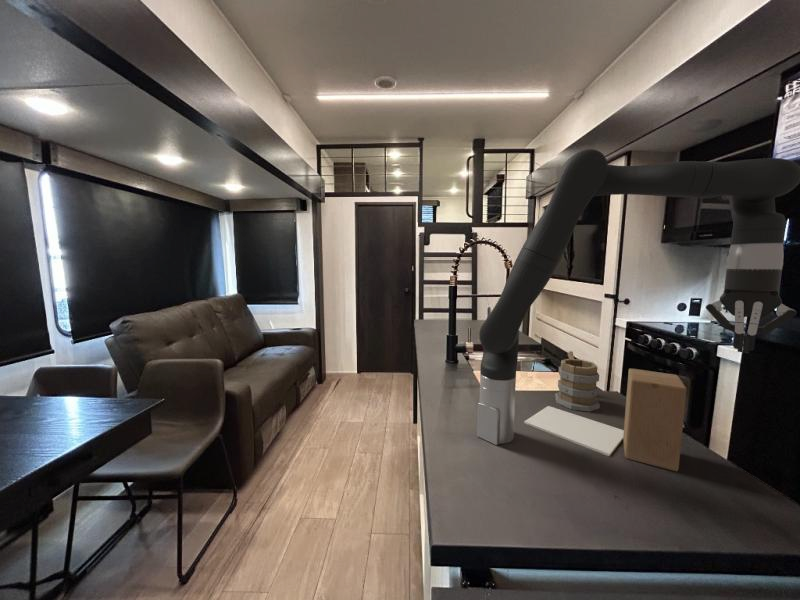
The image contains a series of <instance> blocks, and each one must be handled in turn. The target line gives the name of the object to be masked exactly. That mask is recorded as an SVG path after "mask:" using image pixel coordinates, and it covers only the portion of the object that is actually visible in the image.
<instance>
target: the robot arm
mask: <svg viewBox="0 0 800 600" xmlns="http://www.w3.org/2000/svg"><path fill="white" fill-rule="evenodd" d="M608 163H609V162H608V160H607V158H606V156H605V155H604V153H602V152H601V151H600V150H597V149H592V148H590V149H589V148H587V149H583V150H580V151H577V152H575V153H574V154H573V155H572V156H570V157H569V158H568V159H567V160H566V161H565V162H564V164H563V165H562V168H561V171H560V174H559V178H558V180H557V183H556V185H555V187H554V190H553V192H552V195H551V197H550V200H549V202H548V204H547V206H546V208H545V209H544V211H543V213H542V214H541V216H540V218H539V219H538V221H537V222H536V223H535V225H534V227H533V228H532V230H531V231H530V233H529V234H528V237H527V238H526V239H525V242H524V243H523V245H522V247H521V249H520V251H519V253H518V255H517V258H516V259H515V261H514V263H513V266H512V268H511V270H510V271H509V274H508V277H507V279H506V282H505V285H504V288H503V290H502V292H501V294H500V296H499V298H498V300H497V302H496V304H495V305H494V307H493V309H491V312H490V313H489V315H488V316H487V317H486V319H485V320H484V322H483V323H482V324H481V326H480V329H479V332H478V333H479V335H478V336H479V337H478V338H479V342H480V344H481V346H482V348H483V352H482V358H481V362H480V370H479V371H480V375H479V377H480V378H479V379H480V380H479V402H478V403H477V425H476V428H477V429H476V431H477V432H476V436H477V437H478V438H480V439H483V440H485V441H487V442H489V443H491V444H493V445H494V446H495V445H496V446H497V445H500V444H501V445H502V444H508V443H511V442H512V441H513V440H514V437H515V433H514V431H515V406H516V405H515V403H516V388H517V387H516V383H517V382H516V380H517V367H518V362H519V361H518V360H519V359H518V358H519V343H520V341H519V339H520V331H519V330H520V328H521V325H522V323H523V321H524V319H525V316H526V315H527V313H528V311H529V309H530V308H531V306H533V303H535V301H536V300H537V298H538V297H539V296H540V294H541V293H542V292H543V290H544V288H545V287H546V286H547V284H548V282H549V281H550V280H551V278H552V276H553V275H554V273H555V271H556V269H557V267H558V266H559V263H560V262H561V259H562V258H563V255H564V253H565V252H566V249H567V247H568V245H569V243H570V241H571V238H572V236H573V233H574V230H575V228H576V227H577V226H576V225H577V224H578V221H579V219H580V217H581V215H582V214H583V212H584V211H585V209H586V208H587V206H588V205H589V203H590V201H591V200H592V198H594V197H598V196H599V197H601V196H610V195H611V196H612V195H614V196H615V195H621V196H622V195H634V196H635V195H637V196H638V195H639V196H653V197H654V196H656V197H672V198H688V199H689V198H691V199H693V198H694V199H713V198H716V197H722V196H729V198H728V199H729V200H728V201H729V208H730V215H731V219H732V221H733V222H732V223H733V225H732V226H733V227H732V231H731V237H730V238H731V240H730V247H729V250H728V251H729V252H728V253H727V261H726V269H725V277H724V278H725V279H724V286H723V287H724V288H723V293H722V294H721V295H720V297H719V299H718V300H716V301H715V302H712V303H708V304H706V306H705V309H706V310H707V312H708V313H709V314H710V315H712V317H713V318H714V319H715V321H717V323H718V324H719V325H720V326H721V327H722V328H723V329H724V330H728V331H730V332H733V334H734V336H733V337H734V338H733V345H732V346H733V349H735V350H737V353H745V354H749V352H750V351H751V352H753V351H754V350H755V342H756V338H757V336H758V335H763V334H764V335H767V334H770V333H771V332H773V331H774V330H776V329H777V328H779V327H780V326H782V325H784V324H785V323H787V322H788V321H789V320H791V319H793V318H794V317H796V316H797V311H796V310H795V309H793V308H790V307H789V306H786V305H785V304H783V300H782V298H781V297H780V288H781V282H782V281H781V279H782V272H783V266H784V242H785V241H784V240H785V234H786V223H787V222H786V221H787V220H786V217H785V215H784V214H782V213H780V212H776V201H775V200H776V198H779V197H782V196H784V195H787V194H788V193H790V192H791V191H793V190H794V189H795V188H796V187H798V185H799V184H800V165H799V164H798V163H797V162H795V161H792V160H790V159H787V158H779V157H778V158H777V157H775V158H774V157H767V158H765V157H764V158H752V159H742V160H731V161H723V162H722V161H703V160H701V161H698V160H697V161H696V160H694V161H693V160H692V161H691V160H688V161H687V160H683V161H680V160H679V161H667V162H666V161H665V162H660V163H659V162H658V163H653V164H651V163H649V164H641V165H614V164H608ZM722 305H723V307H724V308H726V310H727V312H728V313H730V314H731V315H732V316H734V324H733V323H731V322H730V321H729V319H727V318H726V316H724V314H723V313H722V311H723V307H722ZM776 309H777V311H776V317H774V318H773V319H772V320H770V321H769V322H767V323H765V325H763V326H759V324H760V319H763V318H765V317H766V316H768V315H769V314H771V313H772V312H773V311H775V310H776ZM745 318H750V319H749V322H748V323H749V324H748V329H747V331H746V333H744V331H745Z"/></svg>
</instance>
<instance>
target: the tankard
mask: <svg viewBox="0 0 800 600" xmlns="http://www.w3.org/2000/svg"><path fill="white" fill-rule="evenodd" d="M558 375H559V377H560V378H559V379H558V380H557V387H558V390H559V391H558V392H555V393H554V398H555V397H556V398H555V402H556V403H557V404H558V403H559V404H558V405H560V404H561V405H560V406H562V405H563V406H562V407H564V406H565V408H567V409H569V410H571V409H572V411H579V410H580V411H579V412H586V411H587V412H592V411H595V410H599V409H600V408H601V403H599V400H598V399H597V398H596V397H597V396H599V388H598V386H597V383H598V382H599V381H600V374H599V372H598V365H597V364H595V363H594V362H592V361H588V360H585V359H580V358H579V359H578V358H576V359H575V356H574V352H573V350H571V351H568V352H567V358H566V359H561V361H560V366H558Z"/></svg>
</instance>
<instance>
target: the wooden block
mask: <svg viewBox="0 0 800 600" xmlns="http://www.w3.org/2000/svg"><path fill="white" fill-rule="evenodd" d="M627 374H628V375H627V385H626V386H627V387H626V388H627V389H626V398H625V411H624V412H625V413H624V424H623V425H624V426H623V430H624V435H623V440H622V442H623V450H624V457H625V459H627V460H631V461H636V462H638V463H643V464H647V465H651V466H654V467H659V468H662V469H666V470H670V471H673V472H678V471H679V468H680V456H681V450H682V449H681V447H682V436H683V427H684V417H685V408H686V399H687V396H686V395H687V387H686V386H685V384H684V382H683V380H682V379H681V378H680V377H679V375H677V374H673V373H665V372H658V371H651V370H646V369H645V370H644V369H638V368H628V373H627Z"/></svg>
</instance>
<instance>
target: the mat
mask: <svg viewBox="0 0 800 600" xmlns="http://www.w3.org/2000/svg"><path fill="white" fill-rule="evenodd" d="M523 424H524V425H527V426H530V427H532V428H535V429H537V430H540V431H543V432H545V433H548V434H550V435H552V436H555V437H558V438H559V439H560V438H561V439H563V440H566V441H568V442H571V443H574V444H576V445H578V446H582V447H584V448H587V449H588V450H592V451H594V452H597V453H600V454H601V455H605V456H607V457H610V456H611V455H612V454H613V452H615V450H616V449H617V447H619V445H620V444H621V443H622V442H623V435H624V429H621V428H618V427H614V426H612V425H608V424H606V423H603V422H599V421H596V420H593V419H590V418H587V417H584V416H581V415H578V414H574V413H571V412H568V411H565V410H562V409H558V408H556V407H553V406H550V405H547V406H546V407H544V408H543V409H541V410H540V411H538V412H537V413H535V414H534V415H532V416H531V417H529V418H528V419H526V420H524V421H523Z"/></svg>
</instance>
